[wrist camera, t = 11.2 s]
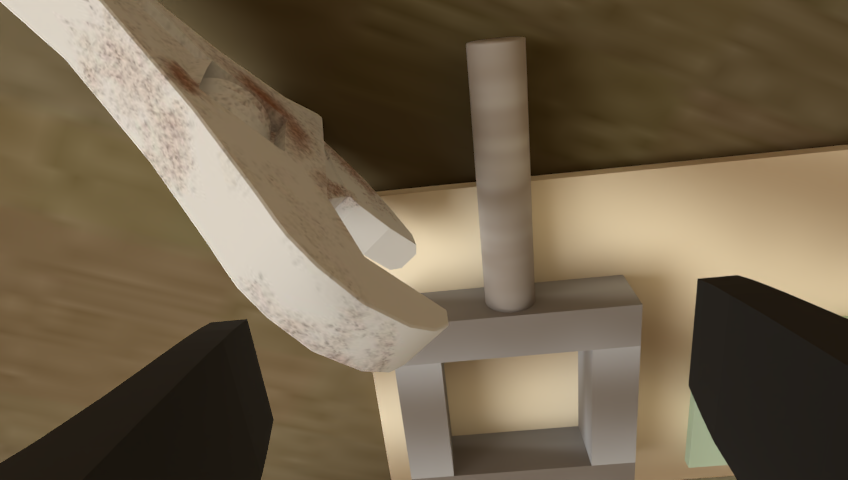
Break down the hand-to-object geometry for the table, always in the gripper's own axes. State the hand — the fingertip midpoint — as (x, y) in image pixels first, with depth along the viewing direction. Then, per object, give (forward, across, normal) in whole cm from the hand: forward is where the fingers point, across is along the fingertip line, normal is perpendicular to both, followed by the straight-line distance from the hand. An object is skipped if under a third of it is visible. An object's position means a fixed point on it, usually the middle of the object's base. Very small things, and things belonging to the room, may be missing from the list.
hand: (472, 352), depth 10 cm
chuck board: (+10, -6, +5) cm, 13 cm away
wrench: (+11, +11, -9) cm, 17 cm away
